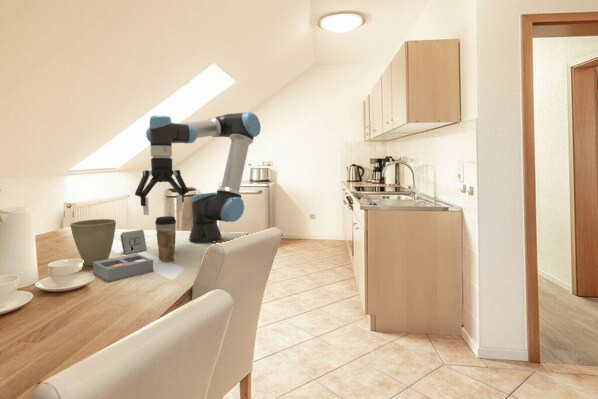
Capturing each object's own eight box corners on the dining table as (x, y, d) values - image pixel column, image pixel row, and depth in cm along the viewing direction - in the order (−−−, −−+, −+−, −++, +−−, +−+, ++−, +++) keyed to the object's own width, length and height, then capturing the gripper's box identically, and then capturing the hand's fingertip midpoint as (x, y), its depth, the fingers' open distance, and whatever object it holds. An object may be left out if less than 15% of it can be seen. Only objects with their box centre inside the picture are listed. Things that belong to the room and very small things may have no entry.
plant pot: (124, 257, 143) (122, 218, 141) (106, 269, 128) (103, 225, 127) (86, 258, 143) (84, 218, 141) (63, 269, 128) (60, 225, 126)
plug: (168, 258, 142) (167, 228, 141) (173, 260, 140) (172, 230, 139) (159, 260, 139) (158, 230, 138) (164, 262, 137) (163, 231, 136)
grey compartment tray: (137, 264, 135) (136, 252, 134) (153, 271, 126) (152, 259, 125) (93, 273, 123) (92, 261, 123) (108, 281, 115) (107, 268, 114)
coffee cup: (181, 251, 154) (180, 216, 152) (168, 255, 146) (167, 219, 144) (165, 249, 157) (164, 215, 155) (151, 254, 149) (150, 218, 147)
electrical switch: (125, 255, 147) (123, 232, 147) (120, 254, 151) (117, 232, 150) (147, 250, 155) (145, 229, 154) (141, 250, 158) (139, 229, 158)
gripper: (132, 156, 124) (135, 217, 126) (196, 157, 142) (197, 210, 144) (123, 157, 129) (126, 215, 131) (186, 157, 147) (187, 208, 149)
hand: (163, 212), depth 138 cm, fingers open, 13 cm apart
